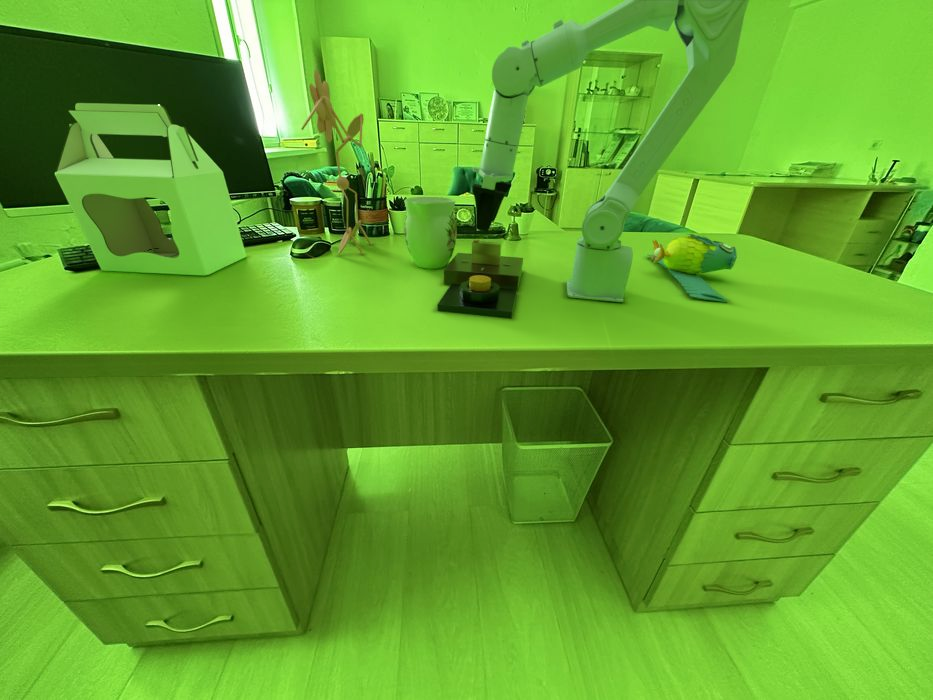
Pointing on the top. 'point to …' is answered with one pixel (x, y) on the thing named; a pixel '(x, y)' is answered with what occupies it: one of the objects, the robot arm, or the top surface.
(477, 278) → the button
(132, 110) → the gable box
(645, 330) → the top surface
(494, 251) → the tan block
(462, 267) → the panel
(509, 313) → the button box
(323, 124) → the figurine
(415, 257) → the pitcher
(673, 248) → the toy bird
